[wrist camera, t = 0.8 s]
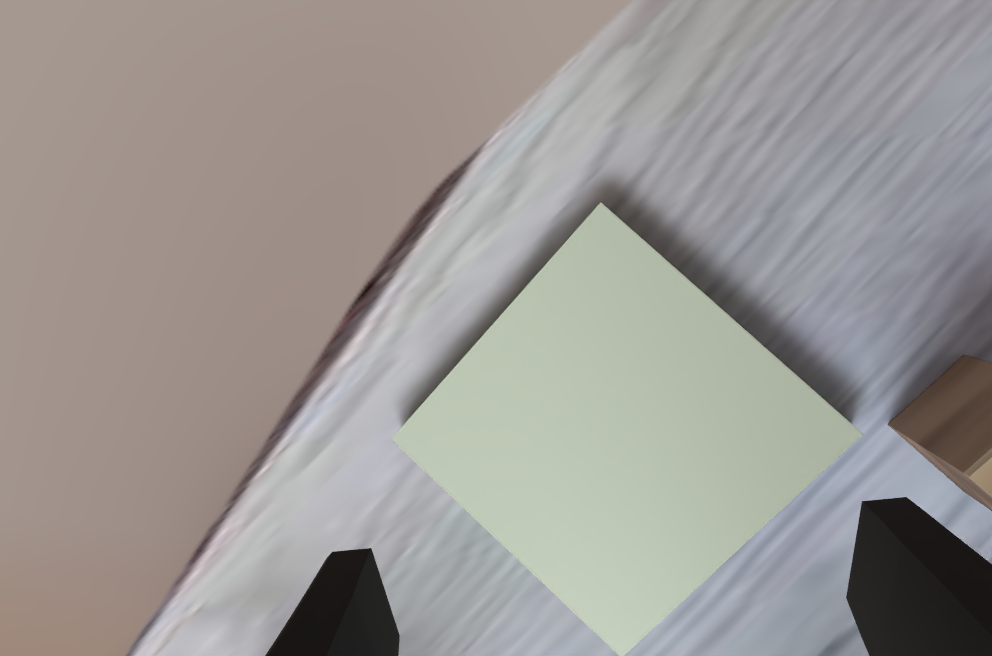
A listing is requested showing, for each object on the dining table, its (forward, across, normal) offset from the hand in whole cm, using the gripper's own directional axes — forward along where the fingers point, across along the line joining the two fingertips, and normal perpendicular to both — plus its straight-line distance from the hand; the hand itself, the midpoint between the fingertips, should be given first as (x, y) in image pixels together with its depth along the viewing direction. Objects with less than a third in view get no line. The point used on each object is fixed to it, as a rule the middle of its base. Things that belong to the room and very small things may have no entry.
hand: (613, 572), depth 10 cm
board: (+17, -2, +11) cm, 21 cm away
